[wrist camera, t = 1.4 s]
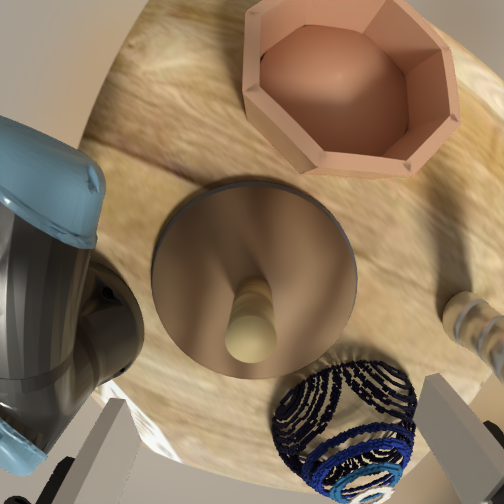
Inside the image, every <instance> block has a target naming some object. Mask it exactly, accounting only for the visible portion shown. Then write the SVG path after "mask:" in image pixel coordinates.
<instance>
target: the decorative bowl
mask: <svg viewBox="0 0 504 504" xmlns="http://www.w3.org/2000/svg"><path fill="white" fill-rule="evenodd" d="M364 363H365V364H366V363H367V364H369V363H370V364H371V366H372V367H373V368H374V369H375V370H376V371H377V372H378V373H379V374H380V375H381V376H383V377H384V378H385V379H386V380H388V381H389V382H390V383H392V384H393V385H395V386H397V387H399V388H401V389H404V390H405V389H406V390H410V391H409V394H410V395H409V396H408V395H407V396H406V395H402V394H399V393H397V395H396V391H395V390H392V389H391V388H390V387H388V386H387V385H385V384H384V383H383V382H384V379H382V378H381V377H380V376H379V375H377V373H375V374H373V373H372V372H371V371H372V368H370V369H368V368H369V365H367V366H365V364H364ZM356 364H357V366H358V367H360V369H362V368H364V369H363V370H362V371H363V372H365V371H366V372H367V373H368V374H369V375H370V376H371V377H372V378H373V379H374V380H375V381H377V382H378V383H379V384H380V385H381V386H382V387H383V388H382V390H384V391H385V392H387V391H389V392H388V394H389V395H391V396H392V397H393V398H396V399H398V400H401V401H403V402H405V403H407V402H410V403H409V404H408V406H402V405H400V404H397V403H395V402H392V400H390V399H388V397H389V396H388V395H386V394H384V392H382V390H380V389H379V388H377V387H376V386H375V385H374V384H373V383H371V382H370V381H369V380H368V379H366V381H365V378H366V376H364V375H363V373H360V374H359V372H360V370H359V368H358V367H357V366H356ZM377 365H380V366H382V367H383V368H384V369H385V370H386V371H387V372H388V373H390V374H391V375H392V376H394V377H396V378H399V379H401V380H403V381H404V382H406V385H401V384H399V383H397V382H395V381H393V380H392V379H390V378H389V377H388V376H387V375H385V374H384V373H383V372H382V371H381V370H380V369H378V367H377ZM349 366H350V368H351V369H353V368H354V370H353V372H354V374H355V375H354V377H355V378H356V377H358V378H359V379H360V381H362V382H363V383H362V386H363V387H364V388H365V389H366V388H367V387H368V389H370V390H371V391H372V392H371V394H372V395H373V396H374V398H376V399H379V400H380V401H381V402H383V403H384V404H386V405H388V406H389V405H390V404H392V405H394V406H397V407H399V408H402V409H404V410H405V413H406V414H404V413H401V412H398V411H396V410H393V409H391V410H387V409H385V407H382V406H380V405H379V404H377V403H376V402H375V401H373V399H371V398H372V397H373V396H372V395H370V393H368V392H367V391H366V390H365V389H363V387H360V388H359V386H360V384H359V383H358V382H357V381H355V379H353V380H351V377H352V375H351V374H350V373H349V371H348V370H346V367H348V368H349ZM341 367H342V368H343V372H342V371H341V369H340V368H341ZM336 369H337V370H338V372H337V371H336ZM332 370H333V372H332V374H333V377H332V380H333V382H335V383H333V384H332V385H333V386H332V391H331V394H330V399H329V401H330V402H331V403H330V405H329V404H328V405H327V407H326V410H325V413H324V414H323V415H322V416H321V419H320V422H319V423H318V424H317V426H319V427H318V428H317V429H316V430H315V431H312V432H311V433H309V432H310V431H311V430H312V429H313V428H314V427H315V424H316V423H317V422H318V420H317V419H316V418H317V417H318V412H319V411H320V410H321V409H320V408H321V407H322V406H323V403H324V400H325V397H326V394H327V389H328V387H327V386H328V381H329V378H328V377H329V373H330V372H331V371H332ZM393 370H394V371H396V372H398V373H396V372H394V371H393ZM328 372H329V373H328ZM341 373H343V376H344V377H346V381H345V382H346V383H347V384H348V386H351V385H352V387H351V390H353V391H354V392H356V394H358V396H359V397H360V398H361V399H362V400H364V401H365V402H366V403H367V404H368V405H372V404H373V405H374V406H376V408H375V409H376V410H377V411H378V412H380V413H382V414H383V413H384V412H386V413H389V414H390V415H391V416H394V417H396V418H399V419H402V421H401V422H400V423H399V424H398V425H397V424H394V423H391V424H387V423H384V422H381V423H377V422H374V423H371V424H368V425H364V424H363V425H362V426H359V427H355V428H352V429H349V430H347V431H344V432H343V433H342V432H340V433H339V434H338V435H337V436H336V437H335V436H334V437H333V438H332V439H328V440H327V441H326V442H325V443H323V442H322V443H321V444H320V445H319V446H318V447H317V448H316V449H315V450H313V451H312V452H311V453H310V454H309V455H308V456H307V457H308V458H307V459H305V458H301V457H298V456H299V455H296V453H297V454H298V453H299V452H300V451H303V450H304V449H305V448H306V445H307V444H308V443H309V442H310V441H311V440H312V439H313V438H314V437H315V436H317V435H318V434H321V433H322V432H323V431H324V430H325V427H326V426H327V425H328V424H327V423H326V422H327V421H328V422H329V421H330V420H331V419H332V416H333V413H334V412H335V409H336V406H337V405H338V404H337V403H338V402H339V401H338V400H339V399H340V398H339V397H340V394H341V391H340V390H339V389H341V388H342V387H341V385H342V379H343V378H342V377H340V375H339V374H341ZM320 376H321V378H322V380H323V381H324V382H322V383H321V384H322V385H321V386H320V387H321V390H322V391H323V392H322V394H321V393H320V394H319V393H318V392H319V391H320V390H319V385H320V383H319V382H320V381H321V380H320ZM315 377H317V383H316V385H317V386H316V387H315V385H314V384H313V383H315V382H316V381H315V379H313V378H315ZM351 381H352V383H351ZM306 382H308V387H307V390H308V391H307V392H306V395H305V397H304V392H305V391H304V389H305V383H306ZM336 385H337V386H338V387H336ZM314 388H316V391H315V394H314V397H313V399H312V402H311V405H310V406H309V403H307V402H308V399H309V396H310V394H311V391H312V392H313V391H314ZM359 390H361V391H362V393H359ZM414 390H415V389H414V388H413V386H412V384H411V383H410V382H409V381H408V379H407V376H406V374H405V373H403V372H401V371H399V370H397V369H395V368H393V367H391V366H389V365H387V364H386V363H384V362H382V361H380V362H377V361H374V362H372V361H370V362H368V361H366V360H364V361H361V360H360V361H357V362H354V361H352V362H349V363H346V364H344V363H341V365H340V366H338V365H337V367H336V366H334V365H333V366H332V367H331V368H328V369H326V368H325V370H323V369H322V370H321V372H317V374H316V375H315V374H313V375H310V376H309V377H308V379H307V380H306V381H305V380H303V382H302V383H301V384H298V385H297V386H296V387H295V388H294V389H291V390H290V391H289V392H288V394H287V395H286V396H285V397H284V398H283V399H282V401H281V402H280V406H279V407H278V408H277V412H276V413H275V416H274V417H273V419H272V422H273V423H272V431H273V433H272V434H273V442H274V445H275V446H276V450H278V452H279V456H281V458H282V460H284V463H285V464H286V465H287V467H290V469H291V471H293V473H296V474H297V475H298V476H299V477H301V478H302V479H303V480H304V481H306V484H307V485H308V486H310V487H312V488H313V489H315V491H316V492H319V493H320V494H322V495H324V496H326V497H330V498H331V499H332V500H335V501H337V502H339V503H343V504H346V503H347V504H364V503H360V502H362V501H366V500H367V501H368V500H369V499H371V498H372V499H374V498H375V497H378V496H380V495H381V494H383V495H382V497H380V498H379V499H378V500H376V501H373V502H371V503H368V504H382V503H383V502H384V501H386V500H387V499H389V498H390V497H391V494H392V493H393V492H395V490H394V489H392V488H393V487H394V486H395V484H396V483H398V481H399V480H400V478H401V477H402V472H403V469H405V467H406V466H407V463H408V462H409V461H410V458H409V457H410V456H412V455H411V453H412V452H413V450H412V449H413V445H414V442H413V440H414V437H415V433H414V432H415V429H416V424H415V423H414V421H413V420H412V419H413V416H414V413H415V410H416V407H417V404H418V403H417V402H418V401H417V399H416V397H417V396H416V394H415V392H414ZM292 394H293V396H292V397H291V400H290V402H289V403H288V404H287V406H286V405H283V404H284V403H285V402H286V401H287V400H288V399H289V397H290V396H291V395H292ZM318 394H319V397H318V400H317V399H316V396H317V395H318ZM303 397H304V400H303V403H302V404H301V407H300V408H299V409H298V406H299V405H300V402H301V401H302V400H301V399H302V398H303ZM366 397H368V398H369V399H368V400H367V399H366ZM383 397H385V398H387V399H386V400H384V399H383ZM316 400H317V403H316V402H315V401H316ZM315 403H316V404H315ZM314 404H315V405H314ZM412 404H413V405H412ZM313 405H314V406H315V407H314V408H313ZM305 406H309V407H308V410H307V411H306V414H305V415H304V416H303V417H302V418H299V419H298V420H297V421H296V422H295V423H294V424H293V425H292V429H289V430H288V431H287V432H285V431H280V429H283V428H287V427H288V426H289V425H290V424H291V423H293V422H294V421H295V420H296V419H297V418H298V415H299V414H300V413H301V412H302V411H303V410H304V409H305ZM312 408H313V409H314V410H313V411H312ZM297 409H298V412H297V413H296V414H295V415H294V416H293V417H292V418H291V419H290V420H289V421H288V422H284V423H279V422H278V421H276V420H279V421H282V420H287V419H288V418H289V417H290V416H291V415H292V414H293V413H294V412H295V411H296V410H297ZM410 409H411V410H410ZM329 410H332V411H331V412H329ZM311 411H312V412H311ZM310 412H311V415H310V416H309V413H310ZM308 416H309V417H308ZM406 416H407V417H406ZM307 417H308V418H307ZM306 418H307V421H306V422H305V423H304V424H303V425H302V426H301V427H300V428H299V429H298V430H297V431H296V432H295V433H293V434H292V435H291V436H290V437H287V438H284V437H279V435H282V436H286V435H290V434H291V433H292V432H293V431H294V430H295V429H296V428H295V426H296V425H297V424H298V423H299V422H300V421H301V420H305V419H306ZM312 420H314V421H313V422H312V423H310V422H311V421H312ZM323 422H325V424H324V425H323V426H322V425H321V424H322V423H323ZM402 423H403V425H404V426H403V425H402ZM407 423H408V424H407ZM278 428H279V429H278ZM410 428H412V429H410ZM380 430H383V431H386V430H390V431H393V433H392V434H391V435H390V436H389V437H387V438H385V437H384V438H383V439H381V438H379V439H378V440H377V439H373V440H370V439H369V440H368V441H367V442H361V443H358V444H356V445H353V446H352V447H351V446H349V447H348V448H347V449H344V450H343V451H339V452H338V453H337V454H336V455H332V456H331V457H330V458H328V459H327V460H326V461H325V462H324V461H323V462H320V461H316V460H318V459H319V458H320V457H321V456H322V455H323V454H324V453H326V452H327V451H328V448H329V447H330V446H331V448H334V447H335V446H336V445H337V446H338V445H340V444H341V443H344V442H345V441H346V440H347V439H348V438H354V437H355V436H357V435H358V434H361V435H362V434H363V433H364V432H368V433H371V432H375V433H376V432H377V431H380ZM395 432H396V433H397V434H396V438H392V437H391V436H392V435H393V434H394V433H395ZM308 433H309V434H308ZM307 434H308V435H307ZM306 435H307V436H306ZM304 436H306V437H305V438H304V439H303V440H302V441H301V442H300V445H299V444H296V445H293V446H290V447H288V446H285V447H283V445H281V444H282V443H283V444H287V445H289V444H291V443H292V442H293V443H296V442H299V441H300V440H301V439H302V438H303V437H304ZM405 436H406V437H405ZM295 437H296V439H294V438H295ZM390 437H391V438H390ZM297 447H298V450H297V449H296V448H297ZM393 447H394V448H393ZM392 448H393V449H392ZM372 449H373V452H374V454H378V455H380V456H381V455H382V456H384V455H385V456H386V455H387V454H388V455H389V456H388V457H383V458H380V457H378V458H377V457H375V455H373V453H372V452H370V451H371V450H372ZM379 449H383V450H385V449H388V450H390V449H392V450H390V451H388V452H387V451H384V452H382V451H379ZM394 451H395V452H394ZM362 452H363V454H361V453H362ZM393 452H394V453H393ZM287 454H288V455H289V456H287ZM361 455H363V458H365V459H370V460H369V462H371V461H372V462H373V463H372V464H369V463H366V462H365V461H363V459H362V456H361ZM402 456H403V459H402V461H401V462H400V463H399V464H395V463H396V462H397V461H398V460H399V459H401V458H402ZM349 457H352V458H349ZM393 457H394V458H393ZM353 458H355V460H357V459H358V462H357V463H358V464H359V463H360V466H361V467H360V468H359V469H358V467H359V466H358V464H356V462H354V459H353ZM392 458H393V459H392ZM347 459H348V463H349V464H347V461H346V460H347ZM350 459H351V461H352V464H351V461H350ZM391 459H392V460H391ZM300 460H302V461H305V463H304V464H303V463H301V461H300ZM389 460H391V461H389ZM388 461H389V462H388ZM344 462H345V464H344V467H343V466H342V465H341V464H343V463H344ZM375 462H376V463H378V464H376V463H375ZM349 465H352V468H350V466H349ZM334 466H336V470H335V471H334V472H335V473H334V475H333V476H332V477H331V478H330V475H332V474H333V470H334V468H335V467H334ZM330 469H331V470H330ZM343 470H344V472H343ZM352 470H354V471H353V472H352V473H350V472H351V471H352ZM385 470H386V471H388V472H389V474H386V475H385V476H383V477H381V478H379V479H376V480H374V481H372V482H371V483H368V484H365V485H364V486H358V487H356V488H350V489H348V490H347V489H345V490H342V489H343V488H345V487H346V484H348V483H349V482H350V483H351V482H353V481H354V480H355V479H357V478H358V477H359V476H366V475H369V476H371V475H372V474H373V475H375V474H379V473H381V472H384V471H385ZM342 473H343V475H342ZM313 474H314V475H313ZM341 475H342V476H341ZM391 475H393V476H392V477H390V476H391ZM340 476H341V478H339V477H340ZM389 477H390V478H389ZM326 478H328V479H326ZM388 478H389V479H388ZM386 479H388V480H387V481H385V480H386ZM336 480H337V481H336ZM382 481H383V483H382V484H379V485H378V486H376V487H371V486H372V485H375V484H378V483H379V482H382ZM384 481H385V482H384ZM388 483H390V484H389V485H386V484H388ZM322 485H324V486H328V485H330V486H333V487H332V488H331V489H330V490H327V489H324V487H323V486H322ZM368 487H371V488H368ZM365 488H368V489H366V490H365V491H363V492H358V493H354V494H350V495H349V494H347V495H341V494H343V493H346V492H348V493H351V492H354V491H357V490H364V489H365ZM377 492H378V493H377ZM372 493H374V495H371V494H372ZM369 494H370V495H369ZM367 495H369V496H368V497H366V496H367ZM352 497H353V498H352ZM347 498H351V499H347Z"/></svg>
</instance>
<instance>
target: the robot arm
mask: <svg viewBox="0 0 504 504" xmlns="http://www.w3.org/2000/svg"><path fill="white" fill-rule="evenodd" d="M105 191H106V181H105V176H104V174H103V171H102V170H101V168H100V166H99V165H98V164H97V163H96V162H95V161H94V160H93V159H92V158H90V157H89V156H87V155H86V154H84V153H82V152H80V151H78V150H77V149H75V148H73V147H71V146H69V145H67V144H65V143H63V142H61V141H59V140H57V139H54V138H52V137H50V136H48V135H46V134H44V133H42V132H39V131H37V130H35V129H33V128H30V127H28V126H26V125H23V124H21V123H18V122H16V121H13V120H11V119H8V118H6V117H3V116H0V467H1V468H3V469H4V470H6V471H8V472H9V473H12V474H14V475H17V476H28V475H30V474H31V473H33V472H34V470H35V469H36V468H37V467H38V465H39V464H40V463H41V462H42V461H43V460H46V459H47V457H48V456H47V454H48V453H49V451H50V450H51V449H52V447H53V446H54V444H55V443H56V441H57V440H58V439H59V437H60V436H61V434H62V433H63V431H64V430H65V429H66V427H67V426H68V424H69V423H70V422H71V420H72V419H73V418H74V416H75V415H76V413H77V412H78V411H79V409H80V408H81V406H82V405H83V404H84V402H85V401H86V400H87V398H88V397H89V396H90V394H91V393H92V392H93V390H94V389H95V388H96V387H98V386H100V385H102V384H104V383H106V382H108V381H110V380H111V379H113V378H115V377H118V376H120V375H121V374H123V373H124V372H126V371H127V370H128V369H129V368H130V367H131V365H132V364H133V363H134V361H135V360H136V358H137V357H138V355H139V353H140V351H141V349H142V346H143V342H144V323H143V318H142V314H141V311H140V308H139V306H138V304H137V302H136V300H135V298H134V296H133V294H132V293H131V291H130V290H129V288H128V287H127V286H126V285H125V283H124V282H123V281H122V280H121V279H120V278H119V277H118V276H117V275H116V274H115V273H113V272H112V271H111V270H109V269H108V268H106V267H105V266H103V265H101V264H99V263H96V262H94V261H90V256H91V252H92V249H93V248H95V246H96V243H97V238H98V237H97V234H96V231H97V226H98V221H99V217H100V213H101V208H102V204H103V200H104V196H105ZM412 420H413V421H414V423H415V424H416V426H417V428H418V429H419V431H420V432H421V434H422V436H423V437H424V439H425V441H426V442H427V444H428V446H429V447H430V449H431V450H432V452H433V454H434V455H435V457H436V459H437V460H438V462H439V464H440V465H441V467H442V469H443V471H444V472H445V474H446V476H447V477H448V479H449V481H450V482H451V484H452V486H453V488H454V490H455V491H456V493H457V495H458V497H459V499H460V500H461V502H462V504H487V503H488V502H489V501H490V500H491V501H492V502H493V504H504V434H503V432H502V431H501V429H500V428H499V427H498V426H497V425H495V424H494V423H492V422H490V421H486V422H484V423H482V422H481V421H480V419H479V418H478V417H477V416H476V415H475V414H474V412H473V411H472V410H471V409H470V408H469V406H468V405H467V404H466V403H465V402H464V401H463V400H462V398H461V397H460V396H459V395H458V394H457V393H456V392H455V390H454V389H453V388H452V387H451V386H450V385H449V384H448V383H447V381H446V380H445V379H444V378H443V377H442V376H441V375H440V374H439V373H436V374H433V375H429V376H426V377H425V381H424V384H423V388H422V391H421V395H420V398H419V401H418V404H417V407H416V410H415V413H414V416H413V419H412ZM141 442H142V440H141V438H140V436H139V433H138V431H137V428H136V426H135V423H134V421H133V418H132V416H131V413H130V410H129V408H128V405H127V402H126V400H125V399H117V398H110V399H109V401H108V403H107V404H106V406H105V408H104V409H103V411H102V413H101V414H100V416H99V418H98V420H97V422H96V423H95V425H94V427H93V428H92V430H91V432H90V434H89V435H88V437H87V439H86V441H85V443H84V444H83V446H82V448H81V450H80V451H79V453H78V455H77V457H76V459H75V458H72V457H68V456H67V457H65V458H64V459H63V460H62V461H60V462H59V463H58V465H57V466H56V468H55V470H54V471H53V474H52V475H51V477H50V478H49V481H48V482H47V484H46V486H45V487H44V489H43V491H42V493H41V495H40V496H39V498H38V500H37V502H36V504H119V502H120V499H121V496H122V494H123V491H124V488H125V485H126V482H127V480H128V477H129V474H130V471H131V469H132V466H133V463H134V461H135V458H136V455H137V452H138V449H139V447H140V444H141ZM4 504H31V503H30V502H29V501H28V500H27V499H26V498H24V497H21V496H12V497H9V498H8V499H7V500H6V501H5V502H4Z"/></svg>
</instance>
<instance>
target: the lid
mask: <svg viewBox="0 0 504 504" xmlns="http://www.w3.org/2000/svg"><path fill="white" fill-rule="evenodd" d="M355 289H356V278H355V268H354V263H353V259H352V255H351V253H350V250H349V247H348V245H347V243H346V241H345V239H344V237H343V236H342V234H341V232H340V231H339V229H338V228H337V227H336V225H335V224H334V223H333V222H332V221H331V220H330V218H329V217H328V216H327V215H326V214H325V213H324V212H322V211H321V210H320V209H318V208H317V207H316V206H314V205H313V204H312V203H310V202H308V201H307V200H305V199H303V198H301V197H299V196H297V195H294V194H292V193H289V192H287V191H283V190H279V189H275V188H270V187H259V186H249V187H238V188H233V189H227V190H224V191H221V192H218V193H215V194H213V195H210V196H208V197H206V198H204V199H202V200H200V201H199V202H197V203H196V204H194V205H193V206H192V207H190V208H189V209H188V210H186V211H185V212H184V213H183V214H182V215H181V216H180V217H179V218H178V219H177V220H176V221H175V223H174V224H173V225H172V226H171V227H170V229H169V230H168V232H167V234H166V235H165V237H164V238H163V240H162V243H161V245H160V247H159V250H158V252H157V256H156V259H155V263H154V269H153V296H154V302H155V306H156V309H157V313H158V315H159V317H160V320H161V322H162V324H163V326H164V328H165V330H166V331H167V333H168V335H169V336H170V337H171V339H172V340H173V341H174V342H175V344H176V345H177V346H178V347H179V348H180V349H181V350H182V351H183V352H184V353H185V354H186V355H188V356H189V357H190V358H191V359H193V360H194V361H195V362H197V363H199V364H200V365H202V366H204V367H205V368H208V369H210V370H212V371H214V372H217V373H220V374H223V375H226V376H230V377H234V378H240V379H268V378H275V377H279V376H283V375H287V374H290V373H292V372H295V371H297V370H300V369H301V368H303V367H305V366H307V365H309V364H310V363H312V362H313V361H315V360H316V359H318V358H319V357H320V356H321V355H323V354H324V353H325V352H326V351H327V350H328V349H329V348H330V347H331V346H332V345H333V343H334V342H335V341H336V340H337V338H338V337H339V335H340V334H341V332H342V331H343V329H344V327H345V325H346V323H347V321H348V319H349V316H350V314H351V311H352V308H353V303H354V298H355Z"/></svg>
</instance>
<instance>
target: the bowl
mask: <svg viewBox="0 0 504 504" xmlns="http://www.w3.org/2000/svg"><path fill="white" fill-rule="evenodd" d="M261 58H263V59H262V62H261V64H260V59H261ZM242 94H243V99H244V105H245V111H246V116H247V121H248V122H250V123H251V124H252V125H253V126H254V127H255V128H256V129H257V130H258V131H259V132H260V133H261V134H262V135H263V136H264V137H265V138H266V139H267V140H268V141H269V142H270V143H271V144H272V145H273V146H274V147H275V148H276V149H277V150H278V152H279V153H280V154H281V155H282V156H283V157H284V158H285V159H286V160H287V161H288V162H289V163H290V164H291V165H292V166H293V167H294V168H295V169H296V170H297V171H298V173H301V174H309V175H324V176H338V177H350V178H361V179H384V178H402V177H412V176H413V175H414V174H415V173H416V172H417V171H418V170H419V169H420V168H421V167H422V166H423V165H424V164H425V163H426V162H427V160H428V159H429V158H430V157H431V156H432V155H433V154H434V153H435V152H436V151H437V150H438V149H439V148H440V147H441V145H442V144H443V143H444V142H445V141H446V140H447V139H448V138H449V137H450V136H451V135H452V133H453V132H454V131H455V130H456V129H457V128H458V127H459V126H460V125H461V124H460V123H461V116H460V106H459V97H458V89H457V81H456V75H455V69H454V63H453V58H452V53H451V49H450V47H449V46H448V45H447V44H446V43H445V41H444V40H443V39H442V38H441V37H440V36H439V35H438V34H437V32H436V31H435V30H434V29H433V28H432V27H431V26H430V25H429V24H428V23H427V22H426V21H425V20H424V19H423V18H422V17H421V16H420V15H419V14H418V13H417V12H416V11H415V10H414V9H413V8H412V7H411V6H410V5H409V4H408V3H406V2H405V1H404V0H262V1H260V2H259V3H257V4H255V5H254V6H252V7H251V8H249V9H248V10H246V12H245V30H244V55H243V81H242Z"/></svg>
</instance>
